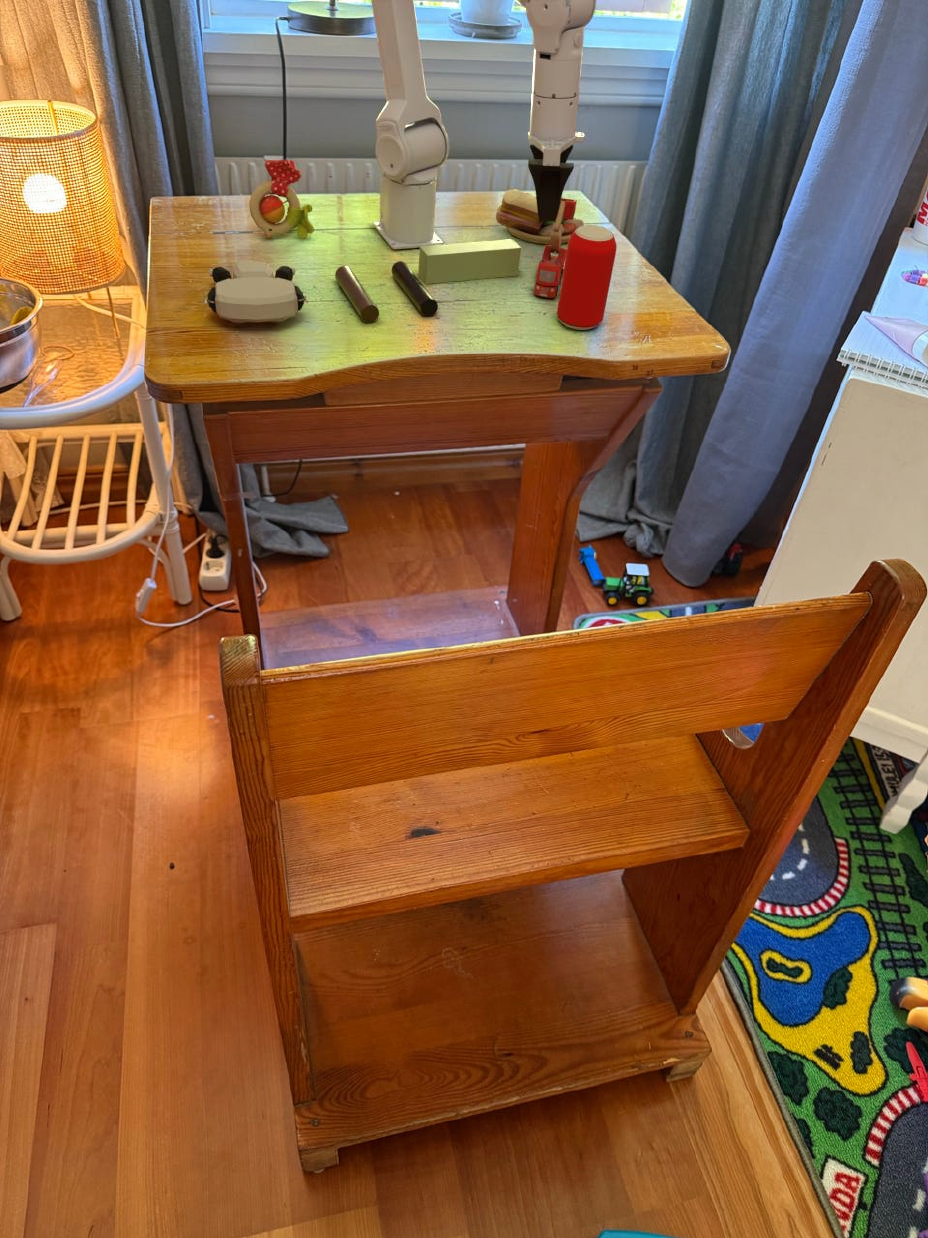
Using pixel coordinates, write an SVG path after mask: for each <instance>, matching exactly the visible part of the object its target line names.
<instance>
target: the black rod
mask: <svg viewBox="0 0 928 1238" xmlns="http://www.w3.org/2000/svg"><path fill="white" fill-rule="evenodd" d="M391 275H392V276H393V278H394V279H395V280H396V282H397V283H398V285H400V287H401V288H402V290H403V292H405V294H406V295H407V296H408V297H409V299H410V300H411V301H412V303H413V304H414V305H415V307H416V308H417V309H418V311H419V312H420V314H421V315H422V316H424V317H426V318H430V317H433V316H434V315H435V314H436V313H437V311H438V310H439V305H438V302H437V301H436V299H435V298H434V297H433V296H432V294H431V293H430V291H429V290H428V289H427V288H426V287H425V285H424V284H423V283H422V281H420V279H419V278H418V277H417V276H416V274H415V272H413V270H412V269H411V268H410V266H409V265H408V264H407V263H406V262H405V261H403V260H402V261H401V260H399V261H397V262H395V263H394V264H393V265H392V266H391Z"/></svg>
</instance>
